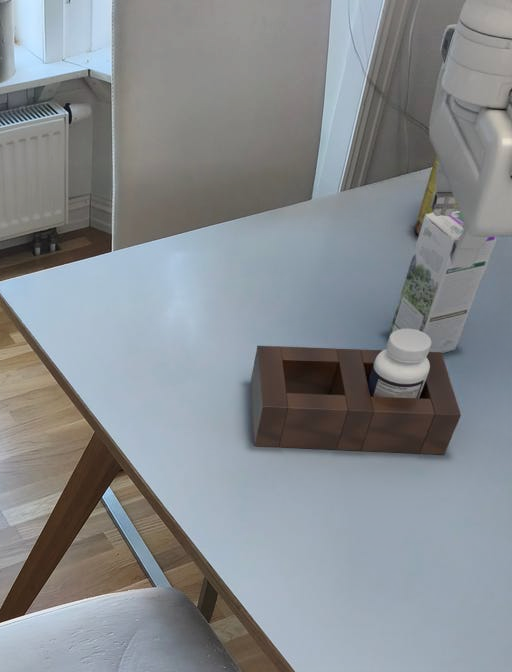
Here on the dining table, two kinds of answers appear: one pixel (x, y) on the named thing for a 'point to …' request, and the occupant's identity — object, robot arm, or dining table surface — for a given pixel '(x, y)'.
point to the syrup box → (439, 283)
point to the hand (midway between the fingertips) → (449, 237)
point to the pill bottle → (401, 366)
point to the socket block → (346, 403)
